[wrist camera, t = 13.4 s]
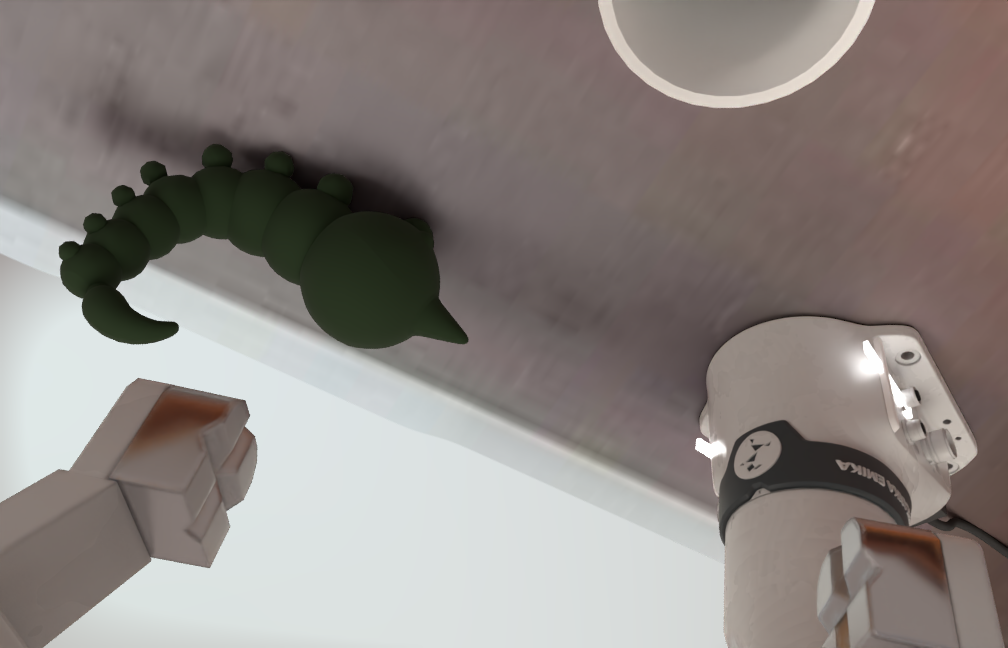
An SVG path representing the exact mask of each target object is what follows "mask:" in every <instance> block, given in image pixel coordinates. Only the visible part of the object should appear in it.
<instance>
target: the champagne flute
mask: <svg viewBox="0 0 1008 648" xmlns="http://www.w3.org/2000/svg"><path fill="white" fill-rule="evenodd" d="M874 2H875V0H598V5H599V9H600V13H601V16H602V20H603V24H604V28H605V30H606V32H607V34H608V36H609V38H610V40H611V42H612V44H613V46H614V48H615V50H616V52H617V53H618V54H619V55H620V57H621V58H622V59H623V61H624V62H625V63H626V64H627V66H628V67H629V68H630V69H631V70H632V71H633V72H634V73H635V74H636V75H638V76H639V77H640V78H641V79H642V80H643V81H645V82H646V83H647V84H648V85H650V86H652V87H653V88H655V89H657V90H659V91H660V92H662V93H664V94H666V95H667V96H669V97H672V98H675V99H678V100H681V101H684V102H687V103H689V104H694V105H700V106H706V107H713V108H741V107H746V106H752V105H757V104H763V103H767V102H770V101H773V100H775V99H778V98H781V97H784V96H786V95H789V94H791V93H793V92H795V91H797V90H799V89H800V88H802V87H804V86H806V85H808V84H809V83H811V82H813V81H814V80H816V79H817V78H818V77H819V76H821V75H822V74H823V73H824V72H826V71H827V70H828V69H829V68H831V67H832V66H833V65H834V64H836V62H837V61H838V60H839V59H840V58H841V57H842V56H843V55H844V53H845V52H846V51H847V50H848V49H849V48H850V47H851V46H852V44H853V43H854V42H855V40H856V38H857V37H858V35H859V33H860V32H861V30H862V29H863V27H864V25H865V24H866V22H867V20H868V18H869V16H870V13H871V10H872V8H873V5H874Z"/></svg>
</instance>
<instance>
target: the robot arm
mask: <svg viewBox="0 0 1008 648" xmlns="http://www.w3.org/2000/svg"><path fill="white" fill-rule="evenodd" d="M907 351H909V352H908V353H904V352H907ZM706 386H707V394H708V400H707V403H706V405H705V407H704V409H703V411H702V413H701V415H700V419H699V422H700V431H701V433H702V434H703V435H704V436H706V437H707V438H709V442H710V444H708V443H707V442H705V441H703V440H702V439H700V438H698V439H697V440H696V449H697V450H698V451H700V452H701V453H703V454H705V455H706V456H708V457H710V458H711V466H712V478H713V487H714V491H715V494H716V495H717V496H718V497H719V504H718V505H717V517H718V522H719V530H720V536H721V540H722V542H723V544H724V546H725V580H724V586H725V587H724V635H725V640H726V643H727V646H728V648H1005V647H1004V642H1003V638H1002V633H1001V629H1000V624H999V620H998V615H997V611H996V606H995V602H994V598H993V593H992V589H991V584H990V580H989V575H988V571H987V566H986V562H985V557H984V553H983V549H982V548H981V546H980V545H979V543H978V542H977V541H975V540H972V539H968V538H963V537H957V536H951V535H945V534H940V533H934V532H932V531H931V530H925V529H920V528H914V527H915V526H918V525H921V524H924V523H928V524H930V525H932V526H934V527H935V528H938V529H940V530H943V531H951V530H953V529H954V528H955V527H958V528H961V529H963V530H965V531H968V532H969V533H971V534H973V535H975V536H976V537H978V538H980V539H981V540H983V541H984V542H985V543H987V544H988V545H990V546H991V547H992V548H994V549H995V550H997V551H998V552H999V553H1001V554H1002V555H1003V556H1005V557H1006V558H1008V548H1006V547H1005V546H1004V545H1002V544H1001V543H1000V542H998V541H997V540H995V539H994V538H993V537H991V536H990V535H988V534H987V533H985V532H984V531H982V530H980V529H979V528H977V527H975V526H974V525H972V524H970V523H968V522H966V521H963V520H961V519H958V518H952V519H950V520H948V521H947V522H944V521H941V520H939V518H942V517H945V516H947V511H946V503H947V502H948V500H949V499H950V496H951V482H950V476H951V475H953V474H954V473H956V472H958V471H959V470H961V469H962V468H963V467H965V466H966V465H967V464H968V463H969V462H970V461H971V460H972V459H973V458H974V457H975V456H976V455H977V443H976V439H975V437H974V435H973V434H972V432H971V430H970V428H969V426H968V424H967V422H966V420H965V418H964V417H963V415H962V413H961V411H960V409H959V407H958V405H957V404H956V402H955V400H954V398H953V396H952V394H951V392H950V390H949V389H948V387H947V385H946V383H945V381H944V379H943V377H942V375H941V374H940V372H939V370H938V368H937V366H936V364H935V362H934V361H933V359H932V357H931V355H930V353H929V351H928V349H927V347H926V346H925V344H924V342H923V340H922V338H921V336H920V334H919V333H918V332H917V330H915V329H914V328H912V327H909V326H903V325H880V326H865V325H859V324H854V323H850V322H846V321H842V320H838V319H833V318H826V317H813V316H800V317H789V318H782V319H776V320H772V321H768V322H765V323H761V324H758V325H756V326H753V327H751V328H749V329H746V330H744V331H743V332H741V333H739V334H737V335H736V336H734V337H733V338H731V339H730V340H729V341H727V342H726V343H725V344H724V345H723V346H722V347H721V348H720V349H719V350H718V351H717V353H716V354H715V356H714V357H713V359H712V360H711V362H710V365H709V367H708V371H707V376H706ZM249 417H250V414H249V411H248V407H247V404H246V401H245V400H241V399H236V398H231V397H227V396H222V395H217V394H213V393H207V392H203V391H198V390H194V389H189V388H184V387H180V386H175V385H171V384H166V383H161V382H156V381H151V380H145V379H141V378H138V379H136V380H135V381H134V382H132V383H131V384H130V385H129V386H127V387H126V388H125V390H124V391H123V393H122V394H121V396H120V397H119V399H118V400H117V401H116V403H115V404H114V406H113V407H112V409H111V410H110V412H109V413H108V415H107V416H106V418H105V419H104V420H103V422H102V424H101V425H100V426H99V428H98V429H97V431H96V432H95V434H94V435H93V437H92V438H91V440H90V441H89V442H88V444H87V445H86V447H85V448H84V450H83V451H82V453H81V454H80V456H79V457H78V459H77V460H76V461H75V463H74V464H73V466H72V467H71V469H70V470H69V471H66V470H60V469H59V470H57V471H55V472H53V473H52V474H50V475H48V476H46V477H45V478H43V479H41V480H39V481H38V482H36V483H34V484H32V485H31V486H29V487H27V488H25V489H24V490H22V491H20V492H18V493H17V494H15V495H13V496H11V497H10V498H8V499H6V500H4V501H3V502H1V503H0V648H43V647H44V646H45V645H46V644H48V643H49V642H50V641H52V640H53V639H54V638H55V637H57V636H58V635H59V634H60V633H62V632H63V631H64V630H65V629H67V628H68V627H69V626H70V625H72V624H73V623H74V622H75V621H77V620H78V619H79V618H80V617H81V616H83V615H84V614H85V613H87V612H88V611H89V610H90V609H92V608H93V607H94V606H95V605H96V604H98V603H99V602H100V601H102V600H103V599H104V598H105V597H107V596H108V595H109V594H110V593H112V592H113V591H114V590H115V589H117V588H118V587H119V586H120V585H122V584H123V583H124V582H126V581H127V580H128V579H129V578H130V577H132V576H133V575H134V574H136V573H137V572H138V571H139V570H141V569H142V568H143V567H144V566H146V565H147V564H148V563H149V562H151V558H150V557H153V558H158V559H164V560H169V561H174V562H179V563H185V564H190V565H195V566H201V567H206V568H210V567H211V564H212V562H213V560H214V558H215V556H216V554H217V552H218V550H219V548H220V546H221V544H222V542H223V540H224V538H225V536H226V534H227V532H228V530H229V528H230V525H229V521H228V517H227V513H226V511H227V510H229V509H230V508H232V507H233V506H235V505H236V504H238V503H239V502H241V501H242V500H244V498H245V495H246V493H247V491H248V489H249V487H250V484H251V483H252V479H253V475H254V471H255V468H256V463H257V444H256V439H255V436H254V435H253V434H252V433H251V432H250V431H249V430H248V429H247V428H246V427H245V424H246V423H247V420H248V419H249Z"/></svg>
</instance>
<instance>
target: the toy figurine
mask: <svg viewBox="0 0 1008 648" xmlns="http://www.w3.org/2000/svg"><path fill="white" fill-rule="evenodd" d="M232 162H233V158H232V153H231V152H230V151H229V150H228V149H227V148H225V147H224V146H222V145H219V144H213V145H211V146H209V147H207V148H206V149H205V150H204V153H203V155H202V164H203V166H204V167H205V169H202V170H200V171H198V172H196V173H195V174H194V175H193V176H192V177H187V176H184V175H173V176H168V175H167V171H166V168H165V165H163V164H160V163H158V162H156V161H150V162H147V163H146V164H145V165H143V166H142V167H141V170H140V173H141V178H142V180H143V182H144V184H147V185H149V187H148V188H147V189H146V190H145V192H144V195H140V196H135V193H134V191H133V189H132V188H130V187H127V186H125V185H121V186H118V187H116V188H115V189H114V190H113V191H112V192H111V194H112V199H113V203H114V204H115V205H116V206H118V207H117V209H116V211H115V213H114V215H113V217H112V219H110V220H106V219H105V218H104V217H103V216H102V214H97V213H92V214H90V215H89V216H87V217H85V220H84V223H83V226H84V229H85V231H86V232H87V235H86V238H85V240H84V243H83V245H79V244H77V243H76V242H75V241H67V242H64V243H63V244H62V245H61V246H59V256H60V258H61V259H62V260H63V261H62V264H61V266H60V274H61V279H62V283H63V285H64V286H65V287H66V288H67V289H68V290H69V291H70V292H71V293H72V294H74V295H76V296H77V297H80V298H83V302H82V311H83V315H84V317H85V319H86V320H87V321H88V323H89V324H90V325H91V326H92V327H93V328H94V329H96V330H97V331H98V332H100V333H101V334H102V335H104V336H106V337H108V338H111V339H113V340H115V341H118V342H123V343H128V344H148V343H154V342H158V341H161V340H164V339H167V338H169V337H171V336H173V335H174V334H176V333H177V332H178V330H179V325H178V324H177V323H176V322H167V321H156V320H153V319H150V318H147V317H145V316H143V315H141V314H139V313H138V312H136V311H134V310H133V309H132V308H131V307H130V306H129V304H128V303H127V301H126V299H125V298H124V296H123V295H122V294H121V293H120V292H119V291H117V290H116V288H117V287H118V285H119V284H120V282H121V281H125V280H129V279H132V278H134V277H136V276H137V275H138V274H140V273H141V272H142V271H143V270H144V268H145V267H146V265H147V263H148V262H149V260H153V259H158V258H160V257H163V256H164V255H166V254H168V253H169V252H170V251H171V250H172V249H173V248H174V247H175V245H176V244H183V243H187V242H191V241H193V240H195V239H197V238H199V237H201V236H202V235H205V236H208V237H211V238H215V239H229V240H230V241H231V243H232V244H233V245H235V246H236V247H237V248H239V249H240V250H242V251H244V252H246V253H248V254H250V255H255V256H260V257H265V259H266V260H267V262H268V264H269V265H270V267H271V268H272V269H273V270H274V271H275V272H276V273H277V274H278V275H280V276H281V277H283V278H284V279H286V280H287V281H289V282H292V283H294V284H297V285H300V286H301V291H302V296H303V299H304V302H305V305H306V308H307V310H308V312H309V314H310V315H311V317H312V318H313V319H314V321H315V322H316V323H317V324H318V325H319V326H320V327H321V328H322V329H323V330H324V331H325V332H326V333H327V334H329V335H330V336H331V337H333V338H335V339H336V340H338V341H340V342H342V343H344V344H346V345H348V346H352V347H356V348H364V349H379V348H386V347H390V346H394V345H396V344H399V343H401V342H403V341H405V340H407V339H409V338H411V337H412V336H423V337H428V338H433V339H437V340H442V341H447V342H451V343H457V344H466V343H467V342H468V337H467V335H466V333H465V332H464V331H463V329H462V328H461V327H460V326H459V324H458V323H457V322H456V321H455V319H454V318H453V317H452V316H451V314H450V313H449V312H448V311H447V309H446V308H445V307H444V306H443V304H442V303H441V301H440V300H439V290H440V274H439V267H438V263H437V260H436V256H435V253H434V250H433V247H434V240H433V232H432V230H431V229H430V227H429V225H428V224H427V223H426V222H424V221H423V220H421V219H417V218H410V219H405V220H402V219H400V218H398V217H395V216H393V215H390V214H386V213H381V212H371V211H363V212H355V213H352V211H351V210H350V209H349V208H348V205H350V202H351V199H352V196H353V185H352V184H351V182H350V181H349V180H348V179H347V178H346V177H345V176H344V175H341V174H335V173H332V174H328V175H326V176H324V177H323V178H321V179H320V182H319V184H318V186H317V190H315V189H301V188H300V187H299V186H298V184H297V183H296V182H294V181H293V180H292V179H290V178H289V177H290V176H292V175H293V171H294V165H293V161H292V158H291V156H289V155H287V154H286V153H284V152H283V151H282V152H273V153H272V154H270V155H269V156H268V157H267V158H266V159H265V169H262V170H250V171H247V172H244V173H242V172H240V171H238V170H236V169H233V168H231V165H232Z"/></svg>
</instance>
